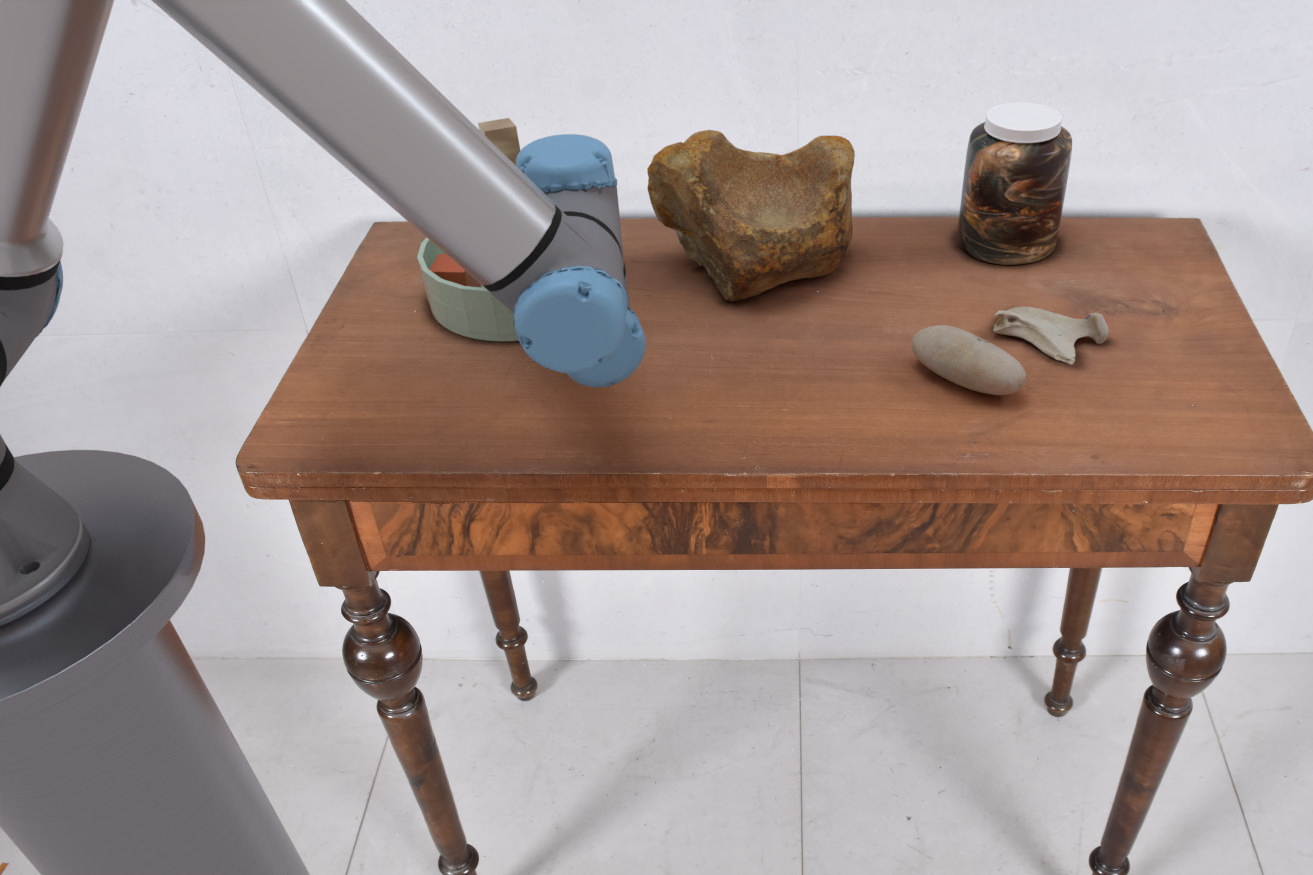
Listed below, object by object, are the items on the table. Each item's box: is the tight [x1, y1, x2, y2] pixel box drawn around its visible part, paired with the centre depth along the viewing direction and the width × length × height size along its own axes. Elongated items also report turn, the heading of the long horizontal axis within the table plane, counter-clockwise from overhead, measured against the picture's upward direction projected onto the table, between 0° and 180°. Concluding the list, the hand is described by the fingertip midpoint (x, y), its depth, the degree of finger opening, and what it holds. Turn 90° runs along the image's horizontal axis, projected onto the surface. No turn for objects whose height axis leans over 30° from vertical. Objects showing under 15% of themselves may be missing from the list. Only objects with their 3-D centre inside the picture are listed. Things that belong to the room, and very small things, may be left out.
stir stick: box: [477, 117, 521, 165], centre depth 112 cm, size 3×3×16 cm
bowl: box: [416, 237, 519, 342], centre depth 118 cm, size 20×20×6 cm
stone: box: [911, 324, 1027, 396], centre depth 103 cm, size 6×6×12 cm
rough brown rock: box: [647, 129, 856, 302], centre depth 117 cm, size 23×17×15 cm
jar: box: [956, 101, 1073, 266], centre depth 122 cm, size 12×12×15 cm
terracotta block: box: [429, 254, 481, 287], centre depth 116 cm, size 4×4×4 cm
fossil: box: [992, 306, 1110, 366], centre depth 109 cm, size 7×11×3 cm, turn 54°
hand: (499, 178), depth 115 cm, fingers closed on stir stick, 3 cm apart
